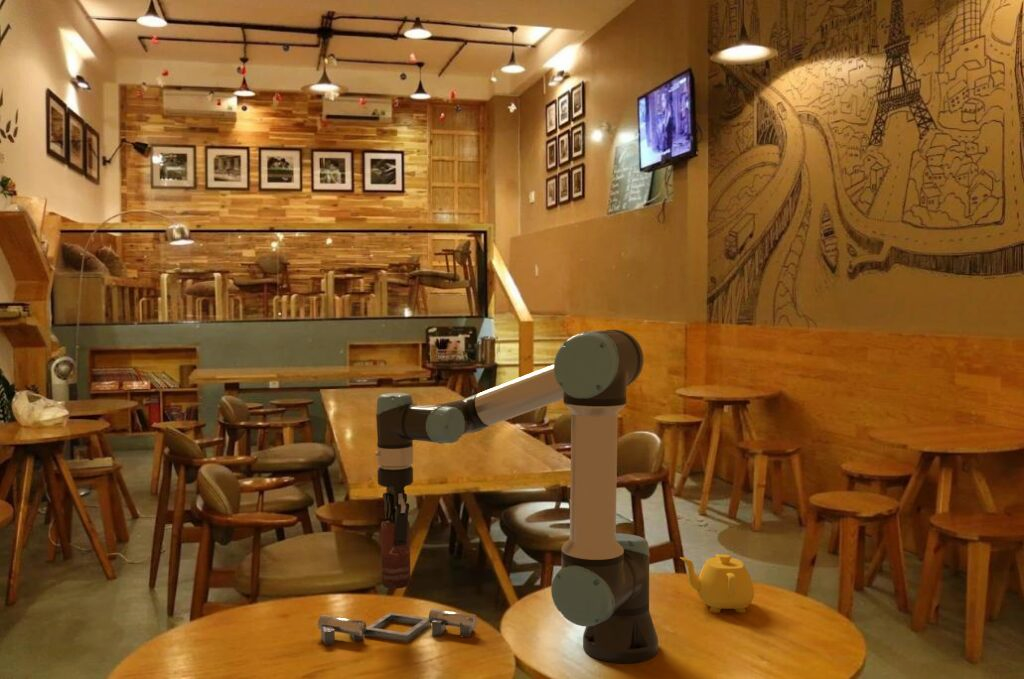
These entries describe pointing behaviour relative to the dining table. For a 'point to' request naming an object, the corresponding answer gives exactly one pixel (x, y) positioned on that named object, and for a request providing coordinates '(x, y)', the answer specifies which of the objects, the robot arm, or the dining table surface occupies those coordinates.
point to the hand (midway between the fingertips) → (396, 574)
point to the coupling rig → (374, 630)
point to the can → (394, 558)
